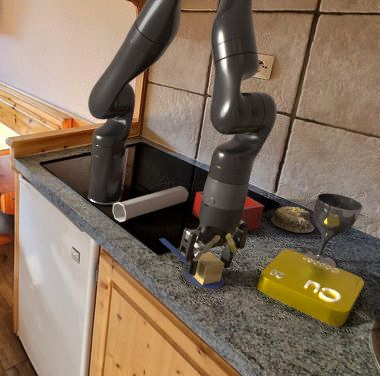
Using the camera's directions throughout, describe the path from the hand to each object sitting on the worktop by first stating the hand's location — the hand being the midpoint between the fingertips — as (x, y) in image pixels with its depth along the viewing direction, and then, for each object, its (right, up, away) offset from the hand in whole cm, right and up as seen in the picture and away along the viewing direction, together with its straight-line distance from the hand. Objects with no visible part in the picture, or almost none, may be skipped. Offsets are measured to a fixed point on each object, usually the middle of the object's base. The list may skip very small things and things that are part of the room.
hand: (207, 269), depth 83 cm
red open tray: (+14, +8, +24) cm, 29 cm away
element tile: (+19, -5, -2) cm, 20 cm away
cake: (+32, +7, +23) cm, 40 cm away
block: (0, -2, +1) cm, 2 cm away
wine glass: (+29, 0, +9) cm, 30 cm away
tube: (-4, +11, +29) cm, 31 cm away
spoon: (-2, 0, +6) cm, 7 cm away
